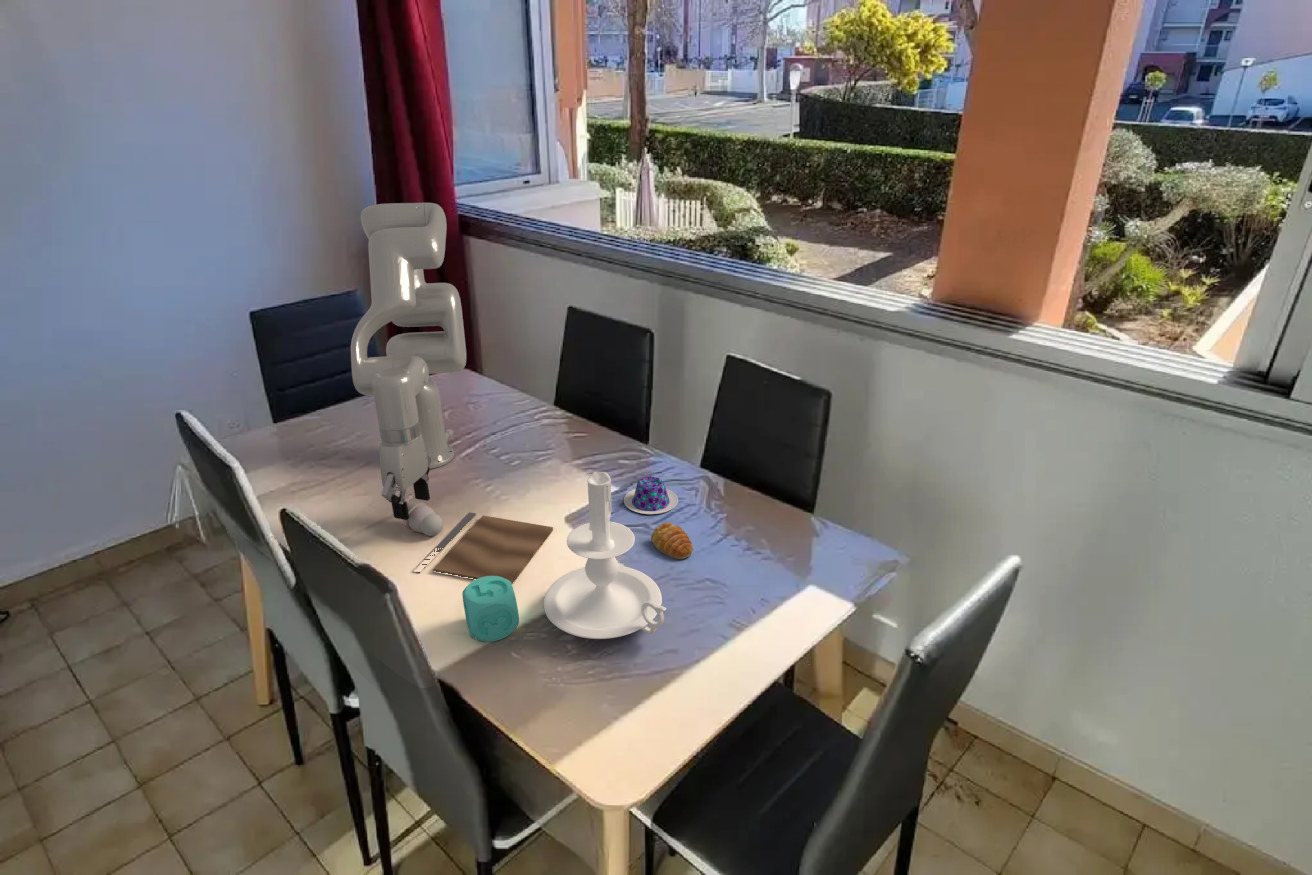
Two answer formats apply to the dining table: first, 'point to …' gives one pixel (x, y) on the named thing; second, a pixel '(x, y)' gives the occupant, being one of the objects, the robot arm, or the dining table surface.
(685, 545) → the pastry
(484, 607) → the decorative dice
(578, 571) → the candlestick
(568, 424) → the dining table surface
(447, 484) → the dining table surface
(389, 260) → the robot arm
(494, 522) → the board
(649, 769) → the dining table surface
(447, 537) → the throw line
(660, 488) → the pudding
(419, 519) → the ice cream cone
